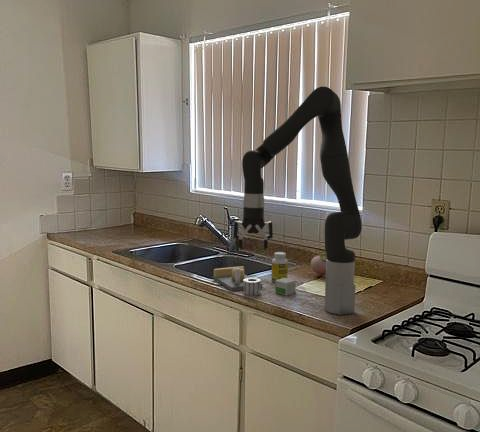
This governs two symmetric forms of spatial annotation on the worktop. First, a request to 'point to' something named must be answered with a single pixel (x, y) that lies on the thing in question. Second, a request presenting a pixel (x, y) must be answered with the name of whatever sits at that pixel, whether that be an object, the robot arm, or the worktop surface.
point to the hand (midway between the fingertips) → (252, 249)
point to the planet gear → (252, 286)
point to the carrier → (231, 277)
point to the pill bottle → (279, 266)
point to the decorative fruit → (319, 264)
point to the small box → (285, 286)
